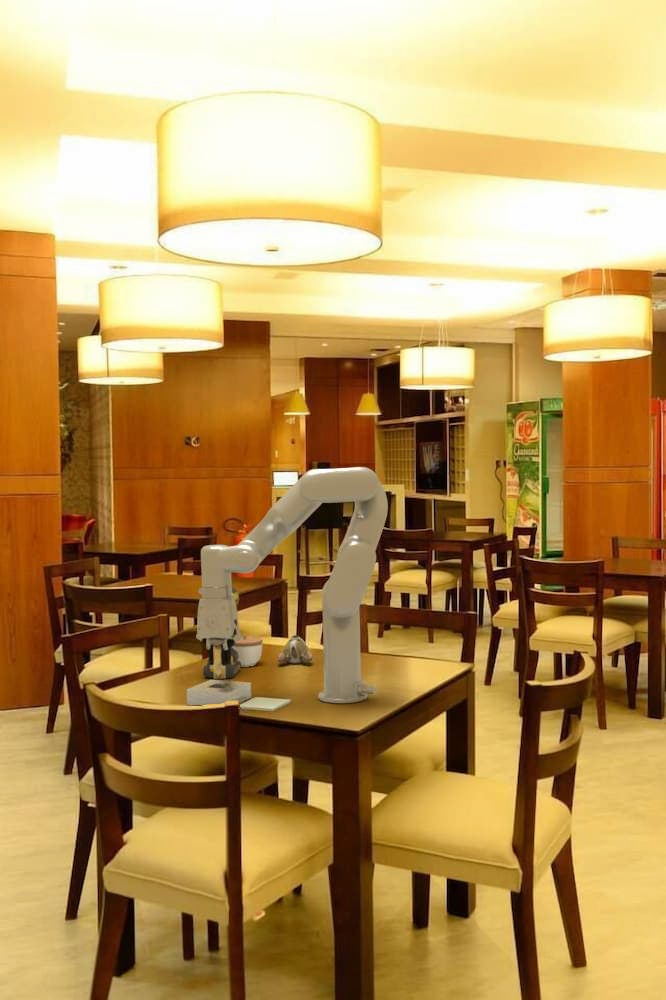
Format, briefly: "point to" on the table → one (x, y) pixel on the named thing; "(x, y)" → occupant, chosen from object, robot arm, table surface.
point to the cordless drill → (234, 664)
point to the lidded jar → (248, 650)
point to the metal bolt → (218, 658)
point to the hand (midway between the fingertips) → (220, 663)
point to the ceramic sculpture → (295, 652)
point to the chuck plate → (218, 692)
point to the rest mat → (264, 704)
